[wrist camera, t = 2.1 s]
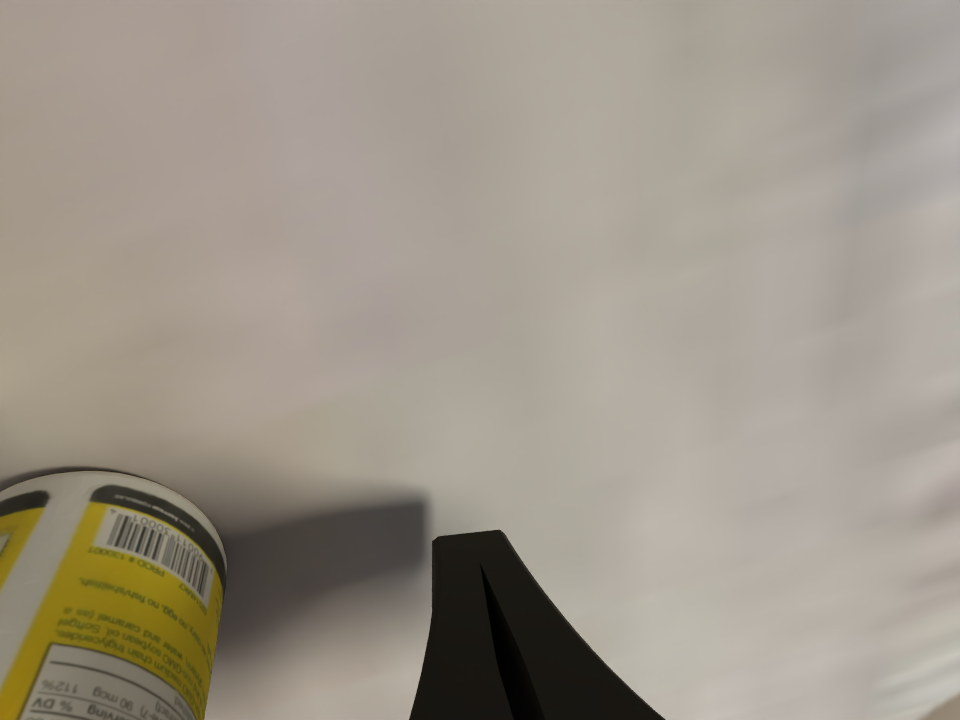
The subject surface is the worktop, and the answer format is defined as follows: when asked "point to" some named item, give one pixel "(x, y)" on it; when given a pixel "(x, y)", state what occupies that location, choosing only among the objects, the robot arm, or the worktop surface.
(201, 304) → the worktop surface
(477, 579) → the robot arm
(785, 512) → the worktop surface
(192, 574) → the supplement bottle
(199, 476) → the worktop surface
